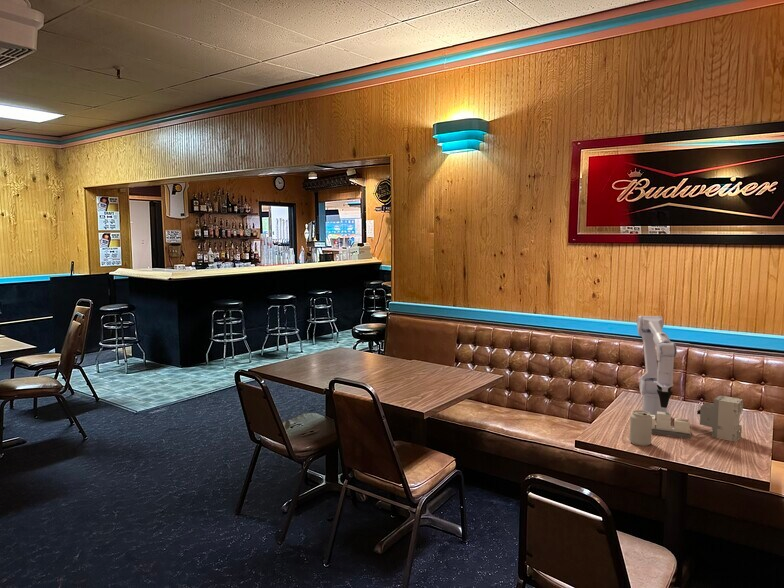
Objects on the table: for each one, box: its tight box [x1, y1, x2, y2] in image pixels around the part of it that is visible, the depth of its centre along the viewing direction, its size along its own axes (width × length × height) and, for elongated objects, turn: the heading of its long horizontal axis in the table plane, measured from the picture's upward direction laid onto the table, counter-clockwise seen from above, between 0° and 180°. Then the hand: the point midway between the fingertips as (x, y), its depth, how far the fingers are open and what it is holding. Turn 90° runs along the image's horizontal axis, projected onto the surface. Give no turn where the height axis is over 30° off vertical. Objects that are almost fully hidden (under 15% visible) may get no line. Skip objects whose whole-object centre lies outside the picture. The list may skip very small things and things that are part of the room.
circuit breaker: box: [696, 395, 744, 443], centre depth 206 cm, size 8×14×15 cm, turn 44°
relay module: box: [655, 411, 672, 430], centre depth 210 cm, size 5×4×6 cm
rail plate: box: [650, 415, 692, 440], centre depth 210 cm, size 18×9×6 cm, turn 63°
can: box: [629, 409, 653, 447], centre depth 198 cm, size 8×8×12 cm
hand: (663, 404), depth 215 cm, fingers open, 7 cm apart
